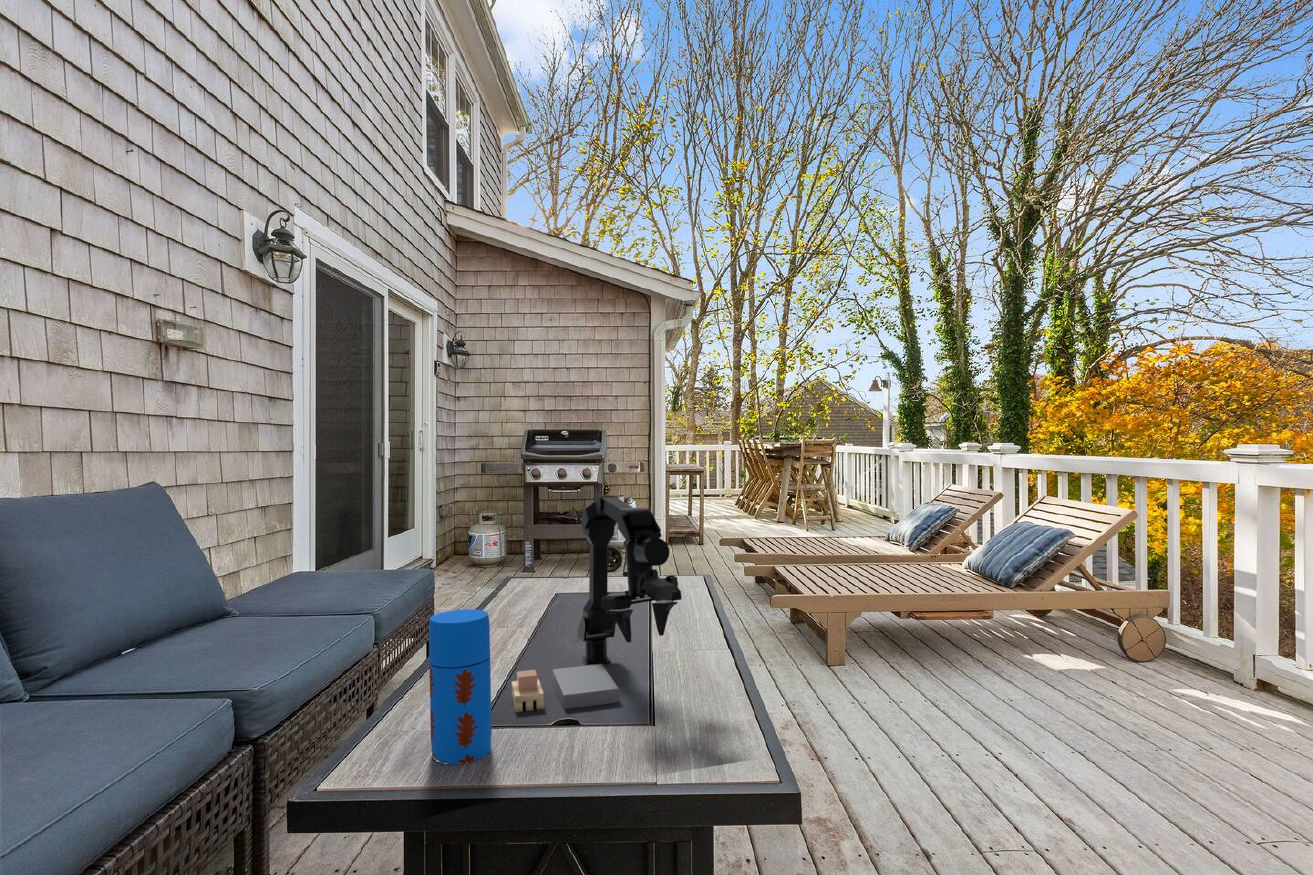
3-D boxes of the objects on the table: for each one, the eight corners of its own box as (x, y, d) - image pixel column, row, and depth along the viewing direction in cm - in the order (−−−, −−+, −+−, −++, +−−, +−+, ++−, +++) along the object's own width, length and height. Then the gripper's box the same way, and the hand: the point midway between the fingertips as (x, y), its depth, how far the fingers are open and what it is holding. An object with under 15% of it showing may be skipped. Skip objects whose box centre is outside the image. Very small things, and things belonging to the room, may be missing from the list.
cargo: (517, 685, 151) (516, 671, 151) (535, 682, 152) (535, 669, 152) (518, 691, 147) (518, 677, 147) (537, 688, 148) (537, 675, 148)
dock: (552, 682, 162) (552, 669, 162) (602, 676, 165) (601, 663, 165) (563, 709, 145) (563, 695, 145) (618, 702, 148) (618, 688, 148)
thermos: (436, 770, 118) (433, 626, 118) (426, 747, 128) (424, 613, 128) (498, 756, 123) (495, 618, 123) (484, 734, 133) (482, 606, 133)
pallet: (511, 696, 153) (511, 681, 153) (538, 693, 155) (538, 678, 155) (515, 713, 144) (515, 696, 144) (543, 709, 145) (543, 693, 145)
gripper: (629, 568, 137) (635, 648, 135) (695, 561, 150) (702, 633, 147) (597, 570, 146) (602, 645, 143) (662, 562, 158) (667, 631, 156)
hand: (645, 638), depth 147 cm, fingers open, 9 cm apart
